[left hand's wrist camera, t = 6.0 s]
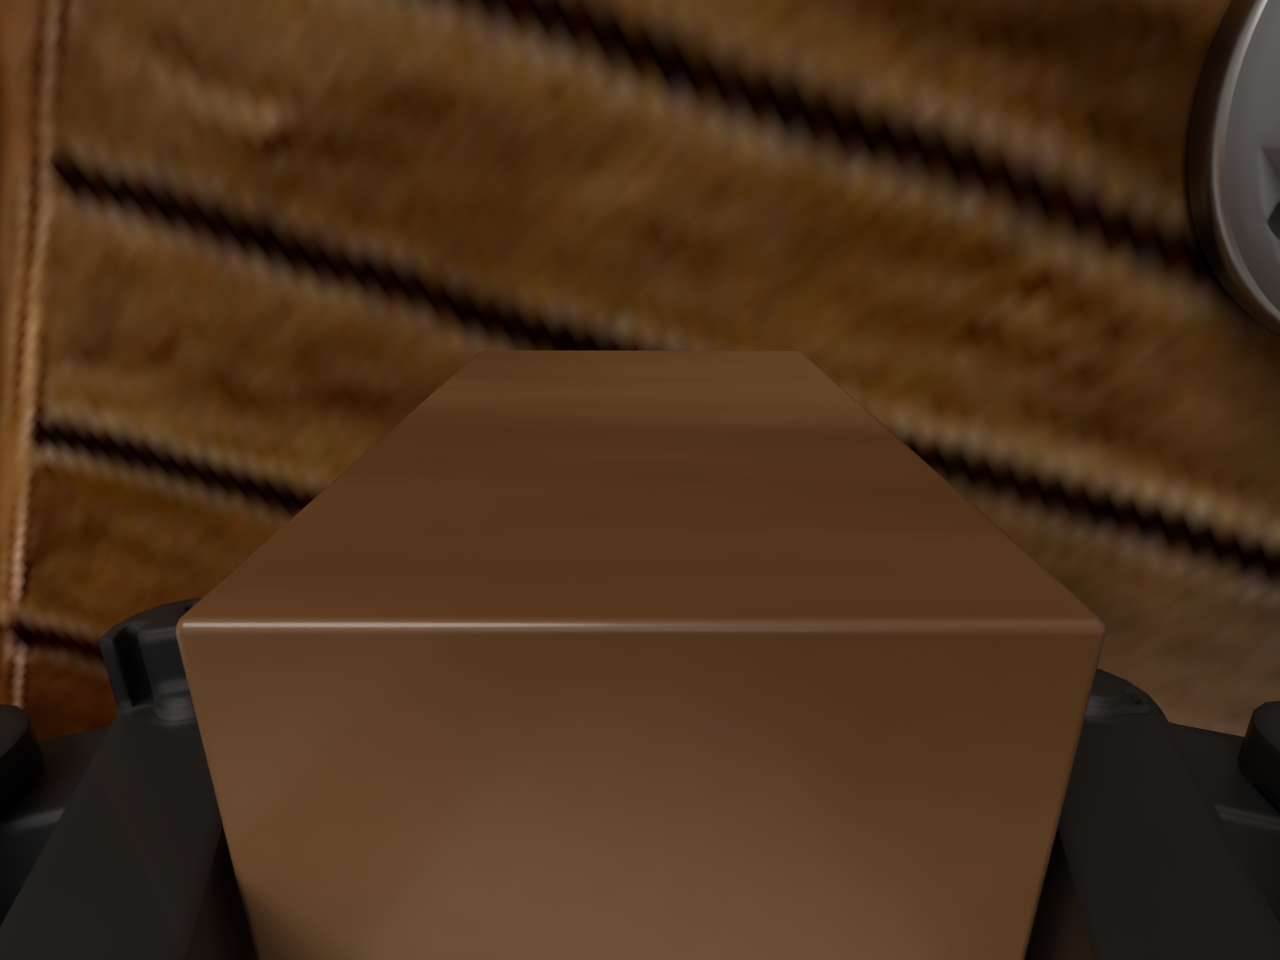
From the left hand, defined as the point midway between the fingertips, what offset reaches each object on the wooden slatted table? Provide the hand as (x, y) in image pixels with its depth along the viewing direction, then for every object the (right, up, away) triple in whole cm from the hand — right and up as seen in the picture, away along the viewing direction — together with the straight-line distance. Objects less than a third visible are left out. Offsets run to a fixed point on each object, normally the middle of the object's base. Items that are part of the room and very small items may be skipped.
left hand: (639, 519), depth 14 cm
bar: (0, -9, +4) cm, 10 cm away
